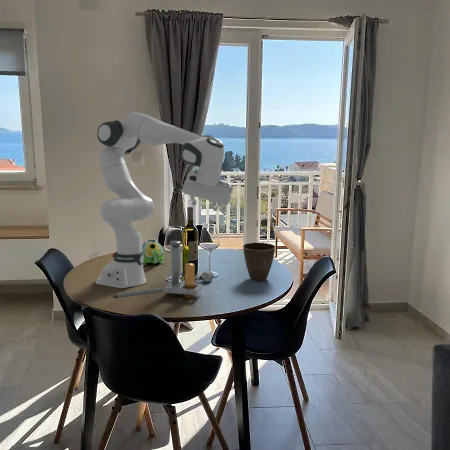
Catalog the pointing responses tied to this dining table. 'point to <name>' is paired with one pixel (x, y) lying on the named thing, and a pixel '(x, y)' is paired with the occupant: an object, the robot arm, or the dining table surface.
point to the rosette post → (176, 284)
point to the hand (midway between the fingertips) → (204, 207)
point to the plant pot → (258, 260)
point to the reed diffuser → (205, 276)
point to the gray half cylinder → (138, 292)
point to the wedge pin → (189, 278)
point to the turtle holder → (152, 252)
